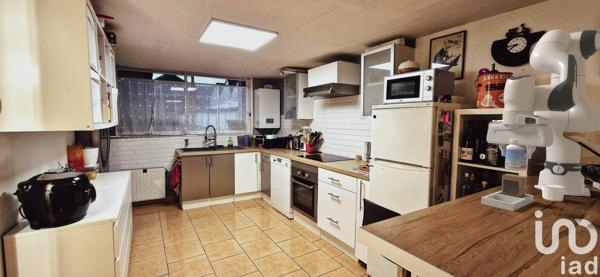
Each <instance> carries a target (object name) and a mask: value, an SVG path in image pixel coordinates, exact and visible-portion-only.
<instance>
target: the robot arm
mask: <svg viewBox="0 0 600 277" xmlns="http://www.w3.org/2000/svg"><path fill="white" fill-rule="evenodd" d="M599 49H600V32H599V31H597V30H596V29H584V30H582V31H575V32H569V31H567V30H565V29H561V28H560V29H559V28H558V29H557V28H556V29H552V30H550V31H547V32H546V33H544V34H543V35H542V36H541V38H539V40H538V41H536V42H534V43H533V44H532V45H531V46H530V50H529V64H530V66H531V67H532V69H533V70H535V71H537V72H538V73H542V74H550V84H543V85H542V84H541V85H536V84H535V78H534V76H533V75H531V74H529V75H528V74H526V75H517V76H510V78H509V77H508V78H507V79H506V82H505V86H504V90H503V104H504V107H503V110H502V119H499V120H498V119H497V120H495V119H493V120H492V121H490V122H489V123H488V129H487V134H486V142H487V143H488V144H496V145H497V144H498V148H499V150H500V151H501V156H502V157H506V147H507V145H510V144H511V143H510V139H514V140H517V144H516V145H524V146H526V147H527V153H524V158H526V159H527V160H528V159H529V160H530V159H532V155H533V154H534V152H535V151H536V149H537V147H538V148H539V147H540V148H545V151H546V152H545V155H546V156H545V158H546V159H545V160H544V164H543V165H544V166H543V168H544V169H542V170H541V171H540V172H539V176H538V177H539V178H538V184H534V187H533V188H536V189H537V190H541V191H542V184H553V185H559V186H563V187H565V192H564V196H565V195H566V196H576V197H577V196H579V197H582V196H583V197H591V192H590V189H589V188H587V184H585V176H584V175H583V174H582V173H581V171H582V163H581V152H582V148H581V145H580V144H579V143H577V142H575V141H573V140H571V139H569V138H565V136H564V133H590V132H598V131H600V108H599V107H597V106H595V105H594V104H593V103H592V101H591V100H590V99H589V97H588V96H587V93H586V90H587V89H586V79H587V78H586V75H587V66H586V61H587V60H589V58H590V57H591V56H593V55H595V54H596V53H597V52H598V51H599Z"/></svg>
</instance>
